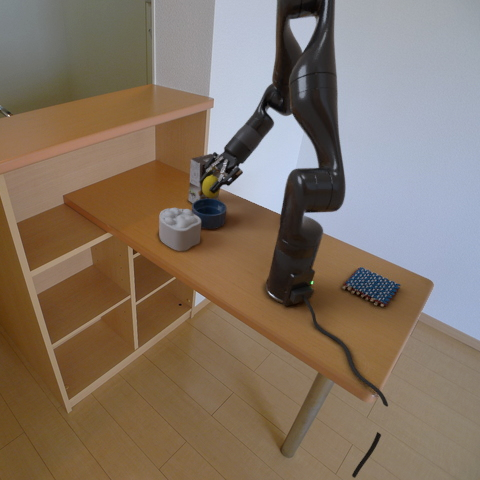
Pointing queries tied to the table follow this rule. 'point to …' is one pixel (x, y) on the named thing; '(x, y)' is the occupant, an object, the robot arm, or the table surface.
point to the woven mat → (371, 286)
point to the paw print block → (179, 228)
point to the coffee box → (195, 176)
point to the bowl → (210, 212)
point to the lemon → (209, 186)
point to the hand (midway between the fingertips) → (206, 187)
